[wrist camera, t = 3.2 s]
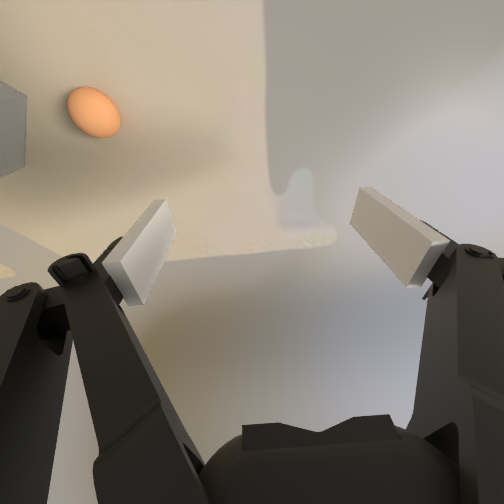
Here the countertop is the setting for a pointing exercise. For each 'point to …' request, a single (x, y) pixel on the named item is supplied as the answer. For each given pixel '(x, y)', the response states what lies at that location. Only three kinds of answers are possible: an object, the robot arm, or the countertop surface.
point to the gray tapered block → (12, 129)
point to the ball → (94, 112)
